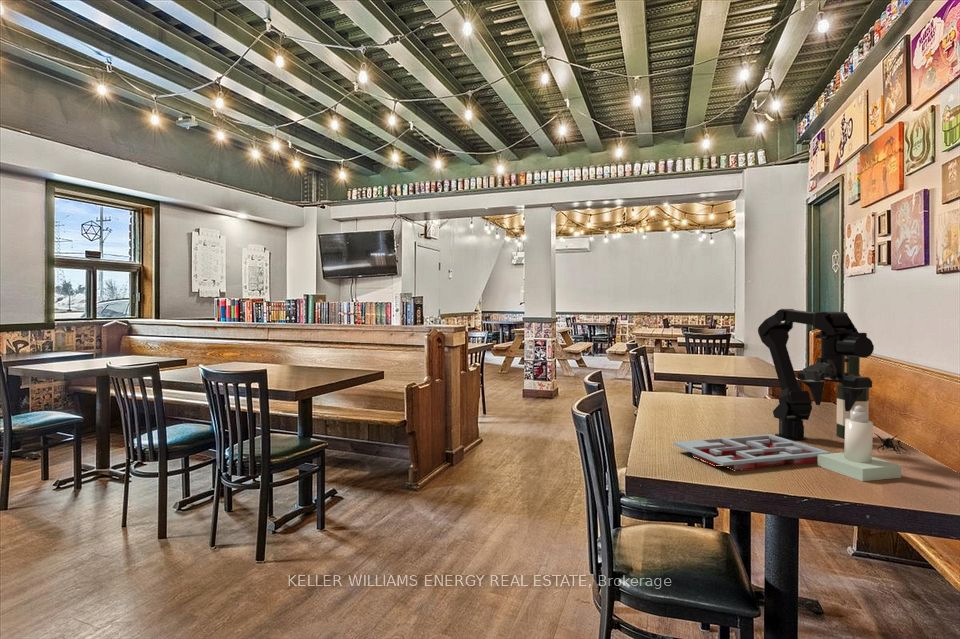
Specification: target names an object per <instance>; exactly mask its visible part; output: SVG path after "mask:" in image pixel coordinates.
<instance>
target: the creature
mask: <svg viewBox="0 0 960 639" xmlns="http://www.w3.org/2000/svg"><path fill="white" fill-rule="evenodd" d="M873 434H874V435H876V436H877V437H878V439H879V440H880V441H881V442H882V445H879V447H877V449H876V450H877V452H879V453H880V451H879V449H880V448H881V449H882V451H883V450H885V448H886V450H889V449H892V450H893V451H894V452H896V454H898V453H899V455H902V454H901V450H900V449H899V448H901V449H902V450H904V451H906V452H908V453H909V454H911V452H910V451H909V450H908V449H906V448H905V447H903V446H901V444H900V443H901V440H897V444H895V445H894V442H893V441H894V440H895V438H896V437H898V436H899V434H897V435H895V436H893V437H892V438H891V437H887V438H885V439H883V438H882V437H881V436H880V435H878V434H876V432H873Z"/></svg>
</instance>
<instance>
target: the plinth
mask: <svg viewBox="0 0 960 639" xmlns="http://www.w3.org/2000/svg"><path fill="white" fill-rule="evenodd" d="M820 466H821V468H823V469H826V470H829V471H832V472H835V473H838V474H840V475H843V476H846V477H849V478H851V479H852V478H853V479H855V480H857V481H860V482H869V481H878V480H889V479H890V480H891V479H900V478H902V465H901V464H897V463H894V462H891V461H887V460H884V459H881V458H878V457H873V456H872V462H871V463H859V462H854V461H850V460H847V459H845V458H844V451H843V452H832V453H831V452H830V454H818V462H817V467H820Z"/></svg>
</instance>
